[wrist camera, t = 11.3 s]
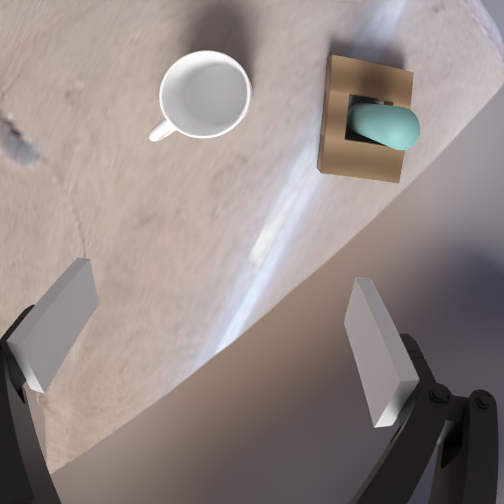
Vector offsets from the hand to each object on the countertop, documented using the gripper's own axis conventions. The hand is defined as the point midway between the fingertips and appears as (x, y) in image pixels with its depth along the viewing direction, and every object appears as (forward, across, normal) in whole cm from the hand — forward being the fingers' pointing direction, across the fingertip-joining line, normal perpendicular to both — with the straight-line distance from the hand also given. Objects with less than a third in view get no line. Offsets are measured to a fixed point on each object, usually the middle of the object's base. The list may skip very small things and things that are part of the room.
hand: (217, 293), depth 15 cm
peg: (+27, +14, +8) cm, 31 cm away
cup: (+27, -5, +8) cm, 29 cm away
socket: (+27, +14, +8) cm, 31 cm away
